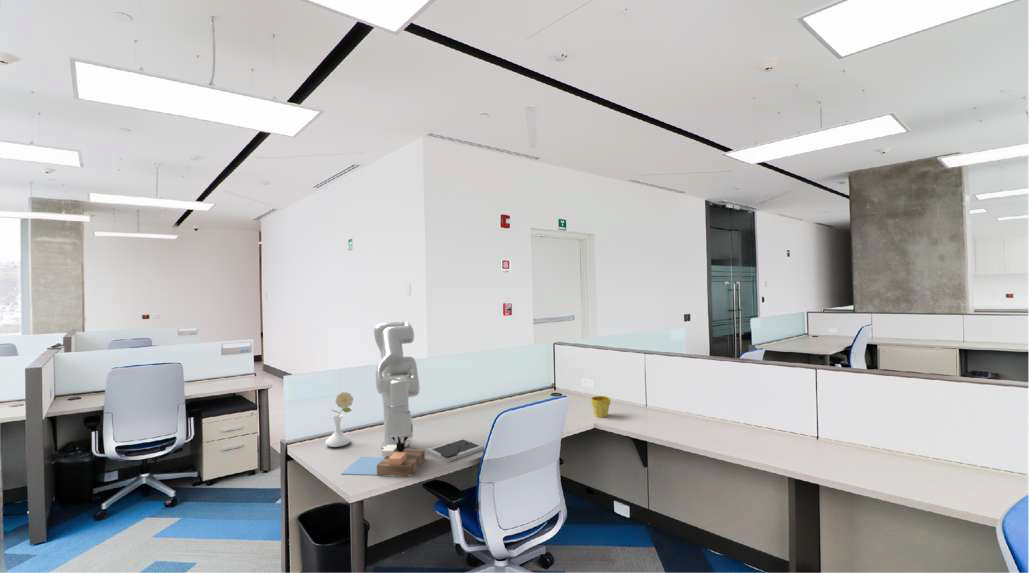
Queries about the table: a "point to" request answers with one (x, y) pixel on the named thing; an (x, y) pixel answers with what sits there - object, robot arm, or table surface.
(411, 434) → the robot arm
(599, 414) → the plant pot
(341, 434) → the flower in vase
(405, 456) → the orange rectangular block
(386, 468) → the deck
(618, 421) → the table surface
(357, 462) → the mat
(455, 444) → the picture frame
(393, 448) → the white rectangular block
